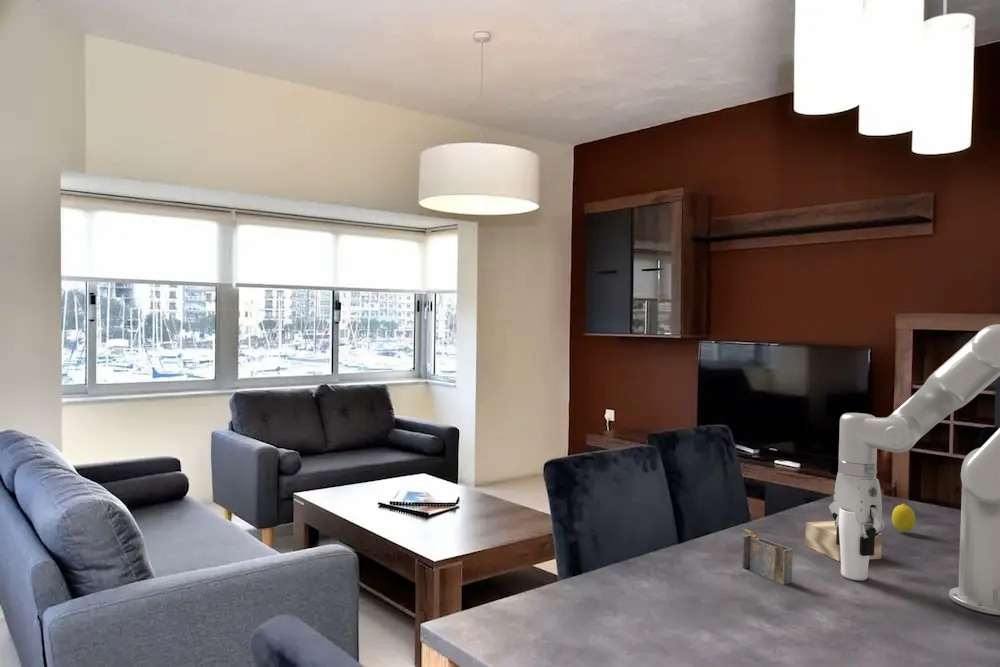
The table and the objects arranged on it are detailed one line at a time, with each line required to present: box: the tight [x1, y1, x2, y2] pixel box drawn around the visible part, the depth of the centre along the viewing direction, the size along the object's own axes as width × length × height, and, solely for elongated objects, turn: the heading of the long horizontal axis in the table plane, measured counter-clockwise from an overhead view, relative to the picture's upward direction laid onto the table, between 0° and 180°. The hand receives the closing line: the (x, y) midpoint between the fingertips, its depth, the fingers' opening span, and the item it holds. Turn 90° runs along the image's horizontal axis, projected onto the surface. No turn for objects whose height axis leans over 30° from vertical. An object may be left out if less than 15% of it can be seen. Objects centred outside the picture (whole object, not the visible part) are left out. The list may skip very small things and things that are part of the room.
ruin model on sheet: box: [741, 527, 794, 585], centre depth 155 cm, size 11×3×10 cm, turn 29°
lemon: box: [891, 503, 916, 534], centre depth 191 cm, size 6×6×8 cm
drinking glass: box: [839, 508, 870, 582], centre depth 155 cm, size 7×7×15 cm
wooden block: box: [804, 520, 883, 562], centre depth 173 cm, size 12×12×6 cm
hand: (854, 549), depth 155 cm, fingers closed on drinking glass, 6 cm apart
